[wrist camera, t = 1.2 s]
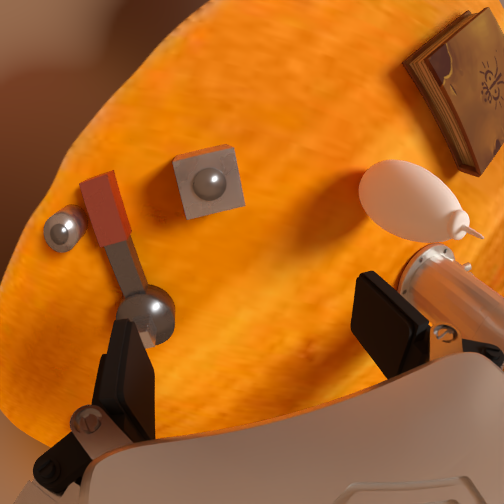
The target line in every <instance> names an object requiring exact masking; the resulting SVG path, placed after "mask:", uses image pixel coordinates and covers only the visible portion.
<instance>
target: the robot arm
mask: <svg viewBox="0 0 504 504" xmlns="http://www.w3.org/2000/svg"><path fill="white" fill-rule="evenodd" d="M469 270H471V264H470V263H468V262H467V263H465V264H463V265H461V264H459V263H458V262H456V261H455V258H454V254H453V252H452V251H451V249H450V248H448V247H447V246H445V245H444V244H441V243H433V244H430V245H428V246H426V247H424V248H422V249H421V250H420V251H419V252H418V253H416V255H415V256H414V257H413V258H412V259H411V260H410V262H409V263H408V264H407V266H406V268H405V269H404V271H403V273H402V276H401V278H400V281H399V285H398V291H396V290H395V289H394V288H392V287H391V286H390V285H389V284H388V283H387V282H386V281H385V280H383V279H382V278H381V277H380V276H379V275H378V274H377V273H375V272H374V271H368V272H364V273H361V274H360V275H359V277H358V278H357V279H356V286H355V295H354V303H353V311H352V318H351V331H352V333H353V334H354V335H355V337H356V338H357V339H358V341H359V342H360V343H361V345H362V346H363V347H364V349H365V350H366V351H367V353H368V354H369V355H370V356H371V358H372V359H373V360H374V362H375V363H376V364H377V366H378V367H379V368H380V370H381V371H382V372H383V374H384V375H385V377H386V378H387V379H388V380H386V381H383V382H381V383H378V384H376V385H373V386H371V387H368V388H366V389H363V390H360V391H358V392H355V393H352V394H350V395H347V396H344V397H341V398H338V399H335V400H332V401H330V402H326V403H323V404H320V405H317V406H314V407H311V408H307V409H304V410H301V411H297V412H294V413H290V414H286V415H283V416H279V417H275V418H271V419H267V420H263V421H259V422H254V423H250V424H245V425H241V426H236V427H231V428H226V429H220V430H214V431H208V432H203V433H197V434H190V435H183V436H176V437H168V438H161V439H155V374H154V369H153V366H152V364H151V362H150V359H149V357H148V355H147V352H146V350H145V347H144V345H143V342H142V340H141V337H140V335H139V332H138V329H137V327H136V324H135V322H134V321H132V322H130V320H129V319H128V318H127V319H120V320H115V321H114V324H113V329H112V333H111V337H110V342H109V346H108V351H107V354H103V355H102V356H101V359H100V364H99V368H98V373H97V378H96V383H95V388H94V393H93V399H92V405H86V406H82V407H80V408H79V409H77V410H76V411H75V412H74V413H73V415H72V417H71V420H70V428H71V430H72V432H70V433H69V434H68V435H67V436H65V437H64V438H63V439H62V440H60V441H59V442H58V443H57V444H55V445H54V446H53V447H52V448H50V449H49V450H48V451H47V452H45V453H44V454H43V455H42V456H40V457H39V458H38V459H37V460H36V462H35V464H34V467H33V475H34V480H33V481H32V482H31V481H28V483H27V484H26V485H25V487H24V489H23V490H22V491H21V493H20V494H19V496H18V498H17V499H16V501H15V502H14V504H504V298H503V297H502V296H501V295H499V294H498V293H497V292H495V291H494V290H493V289H491V288H490V287H489V286H487V285H486V284H484V283H483V282H482V281H480V280H479V279H477V278H476V277H475V276H473V274H472V273H471V272H467V271H469ZM426 318H427V319H426ZM429 321H430V322H431V323H432V324H433V326H432V327H430V326H429V325H428V324H429Z"/></svg>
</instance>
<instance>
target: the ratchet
mask: <svg viewBox="0 0 504 504" xmlns="http://www.w3.org/2000/svg"><path fill="white" fill-rule="evenodd" d="M79 185H80V189H81V192H82V195H83V199H84V202H85V205H86V208H87V211H88V214H89V217H90V220H91V223H92V226H93V229H94V232H95V235H96V237H97V240H98V243H99V246H100V247H104V248H105V250H106V253H107V256H108V258H109V261H110V263H111V266H112V268H113V271H114V273H115V276H116V278H117V281H118V283H119V285H120V288H121V290H122V292H123V296H122V299H121V302H120V305H119V308H118V311H117V314H116V320H120V319H127V318H128V319H129V320H130V322H132V321H134V322H135V324H136V327H137V329H138V332H139V335H140V337H141V340H142V342H143V345H144V347H145V348H150V347H155V345H159V344H161V343H163V342H165V341H166V340H168V339H169V338H170V337H171V335H172V333H173V331H174V327H175V305H174V302H173V300H172V298H171V297H170V296H169V294H168V293H167V292H165V291H164V290H163V289H161V288H159V287H157V286H154V285H149V284H148V283H147V280H146V277H145V275H144V272H143V269H142V267H141V264H140V261H139V258H138V256H137V253H136V250H135V247H134V244H133V241H132V238H131V235H130V234H131V232H132V230H131V227H130V224H129V221H128V218H127V215H126V211H125V208H124V205H123V201H122V198H121V195H120V191H119V188H118V184H117V181H116V177H115V173H114V170H112V171H109V172H106V173H103V174H100V175H98V176H95V177H92V178H89V179H87V180H85V181H83V182H81V183H79Z"/></svg>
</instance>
